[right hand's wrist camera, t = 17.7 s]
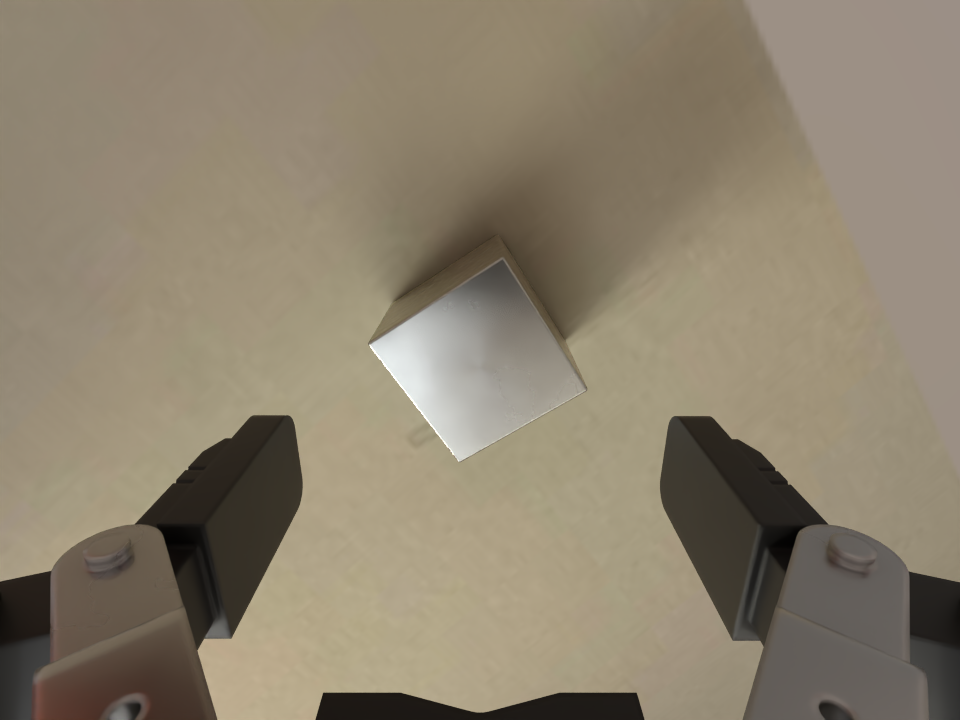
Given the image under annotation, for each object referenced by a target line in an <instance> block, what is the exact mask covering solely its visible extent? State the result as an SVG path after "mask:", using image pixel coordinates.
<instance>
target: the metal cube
mask: <svg viewBox="0 0 960 720" xmlns="http://www.w3.org/2000/svg"><path fill="white" fill-rule="evenodd" d="M368 345H369V346H370V348H371V349H372V350H373V352H374V353H375V354H376V356H377V357H378V358H379V359H380V361H381V362H382V363H383V365H384V366H385V367H386V368H387V370H388V371H389V372H390V374H391V375H392V376H393V378H394V379H395V380H396V381H397V383H398V384H399V385H400V387H401V388H402V389H403V390H404V392H405V393H406V394H407V396H408V397H409V398H410V400H411V401H412V402H413V403H414V405H415V406H416V407H417V409H418V410H419V411H420V412H421V414H422V415H423V416H424V418H425V419H426V420H427V422H428V423H429V424H430V425H431V427H432V428H433V429H434V431H435V432H436V433H437V434H438V436H439V437H440V438H441V440H442V441H443V442H444V444H445V445H446V446H447V447H448V449H449V450H450V451H451V453H452V454H453V455H454V456H455V458H456V459H457V460H458V462H461V461H463V460H465V459H467V458H468V457H470V456H472V455H474V454H476V453H477V452H479V451H481V450H483V449H484V448H486V447H488V446H490V445H492V444H493V443H495V442H497V441H499V440H500V439H502V438H504V437H506V436H507V435H509V434H511V433H513V432H515V431H516V430H518V429H520V428H522V427H523V426H525V425H527V424H529V423H531V422H532V421H534V420H536V419H538V418H539V417H541V416H543V415H545V414H546V413H548V412H550V411H552V410H554V409H555V408H557V407H559V406H561V405H562V404H564V403H566V402H568V401H570V400H571V399H573V398H575V397H577V396H578V395H580V394H582V393H584V392H585V391H587V387H586V385H585V382H584V380H583V378H582V376H581V374H580V372H579V369H578V367H577V365H576V363H575V361H574V359H573V356H572V354H571V352H570V350H569V348H568V346H567V343H566V341H565V340H564V338H563V336H562V335H561V333H560V332H559V330H558V328H557V327H556V325H555V324H554V322H553V320H552V319H551V317H550V316H549V314H548V312H547V311H546V309H545V308H544V306H543V304H542V303H541V301H540V300H539V298H538V296H537V295H536V293H535V292H534V290H533V288H532V287H531V285H530V284H529V282H528V280H527V279H526V277H525V276H524V274H523V272H522V271H521V269H520V268H519V266H518V264H517V263H516V261H515V260H514V258H513V256H512V255H511V253H510V252H509V250H508V248H507V247H506V245H505V244H504V242H503V240H502V239H501V237H500V236H499V235H495V236H494V237H492V238H491V239H489V240H488V241H486V242H485V243H483V244H482V245H480V246H478V247H477V248H475V249H474V250H472V251H471V252H469V253H468V254H466V255H465V256H463V257H462V258H460V259H459V260H457V261H456V262H454V263H453V264H451V265H450V266H448V267H446V268H445V269H443V270H442V271H440V272H439V273H437V274H436V275H434V276H433V277H431V278H430V279H428V280H427V281H425V282H424V283H422V284H421V285H419V286H418V287H416V288H414V289H413V290H411V291H410V292H408V293H407V294H405V295H404V296H402V297H401V298H399V299H398V300H396V301H395V302H393V303H392V304H391V306H390V307H389V309H388V311H387V312H386V314H385V316H384V318H383V319H382V321H381V323H380V324H379V326H378V328H377V329H376V331H375V333H374V334H373V336H372V338H371V339H370V341H369V343H368Z"/></svg>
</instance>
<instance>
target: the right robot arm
mask: <svg viewBox="0 0 960 720" xmlns="http://www.w3.org/2000/svg"><path fill="white" fill-rule="evenodd" d="M188 468H189V469H188V470H185V471H184V472H183V473H182V475H181V476H180V477H179V478H178V479H177V480H176V483H173V484H172V485H171V486H170V487H169V488H168V489H167V491H166V492H165V493H164V494H163V495H162V496H161V497H160V498H159V499H158V500H157V501H156V502H155V503H154V504H153V505H152V507H151V508H150V509H149V510H148V511H147V512H146V513H145V514H144V515H143V516H142V517H141V518H140V519H139V520H138V521H137V523H136V524H135V525H125V526H120V527H116V528H112V529H109V530H106V531H103V532H100V533H98V534H95V535H93V536H91V537H89V538H87V539H85V540H83V541H81V542H80V543H78V544H77V545H75V546H74V547H72V548H71V549H70V550H68V551H67V552H66V553H65V554H64V555H63V556H62V557H61V558H60V559H59V560H58V561H57V562H56V564H55V565H54V567H53V569H52V571H49V572H44V573H39V574H34V575H30V576H25V577H20V578H15V579H11V580H6V581H1V582H0V720H217V717H216V713H215V710H214V707H213V703H212V700H211V696H210V693H209V689H208V686H207V683H206V679H205V676H204V672H203V669H202V665H201V662H200V659H199V655H198V652H197V650H198V648H199V647H200V645H201V643H202V641H203V640H204V639H231V638H232V636H233V634H234V632H235V630H236V628H237V626H238V624H239V623H240V621H241V619H242V617H243V615H244V613H245V611H246V609H247V607H248V605H249V603H250V601H251V599H252V597H253V595H254V593H255V591H256V590H257V588H258V586H259V584H260V582H261V580H262V578H263V576H264V574H265V572H266V570H267V568H268V566H269V564H270V562H271V560H272V559H273V557H274V555H275V553H276V551H277V549H278V547H279V545H280V543H281V541H282V539H283V537H284V535H285V533H286V531H287V529H288V527H289V526H290V524H291V522H292V520H293V518H294V516H295V514H296V512H297V510H298V508H299V505H300V502H301V497H302V488H303V482H302V473H301V466H300V459H299V452H298V445H297V439H296V432H295V426H294V422H293V419H292V418H291V417H290V416H288V415H254V416H251V417H250V418H249V419H248V420H247V421H246V422H245V424H244V425H243V426H242V427H241V428H240V429H239V430H238V432H237V433H236V434H235V435H234V436H233V437H232V438H225V439H224V440H222V441H220V442H218V443H217V444H215V445H213V446H212V447H210V448H208V449H207V450H205V451H203V452H202V453H201V454H200V455H199V456H198V457H197V459H196V460H195V461H194V462H193V463H192V464H191V465H190V466H189V467H188ZM660 493H661V499H662V504H663V507H664V509H665V511H666V513H667V515H668V517H669V519H670V521H671V523H672V525H673V527H674V529H675V531H676V533H677V534H678V536H679V538H680V540H681V542H682V544H683V546H684V548H685V550H686V552H687V554H688V556H689V557H690V559H691V561H692V563H693V565H694V567H695V569H696V571H697V573H698V575H699V577H700V579H701V580H702V582H703V584H704V586H705V588H706V590H707V592H708V594H709V596H710V598H711V600H712V602H713V603H714V605H715V607H716V609H717V611H718V613H719V615H720V617H721V619H722V621H723V623H724V625H725V626H726V628H727V630H728V632H729V634H730V636H731V638H732V640H733V641H761V643H762V644H763V646H764V648H763V652H762V655H761V659H760V662H759V665H758V669H757V672H756V676H755V679H754V683H753V686H752V689H751V693H750V696H749V700H748V703H747V707H746V710H745V713H744V717H743V720H960V582H955V581H950V580H946V579H941V578H936V577H931V576H927V575H922V574H917V573H912V572H909V571H908V569H907V567H906V565H905V564H904V562H903V561H902V560H901V559H900V558H899V557H898V556H897V555H896V554H895V553H894V552H893V551H892V550H890V549H889V548H888V547H886V546H885V545H883V544H882V543H880V542H879V541H877V540H875V539H873V538H871V537H869V536H867V535H865V534H862V533H860V532H857V531H854V530H851V529H848V528H844V527H840V526H835V525H828V523H827V522H826V521H825V520H824V519H823V518H822V517H821V516H820V515H819V514H818V513H817V512H816V511H815V510H814V509H813V508H812V507H811V505H810V504H809V503H808V502H807V501H806V500H805V499H804V498H803V497H802V496H801V495H800V494H799V493H798V492H797V491H796V490H795V489H794V488H793V486H792V485H788V481H787V480H786V479H785V478H784V477H783V476H782V475H781V474H780V473H779V472H778V471H775V467H774V466H773V465H772V464H771V463H770V462H769V461H768V460H767V459H766V458H765V457H764V456H763V455H762V454H761V453H760V452H759V451H757V450H755V449H753V448H752V447H750V446H748V445H747V444H745V443H743V442H742V441H740V440H738V439H731V438H730V437H729V435H728V434H727V433H726V432H725V431H724V430H723V429H722V428H721V426H720V425H719V424H718V423H717V422H716V421H715V420H714V419H713V418H712V417H710V416H674V417H672V419H671V420H670V422H669V426H668V431H667V438H666V445H665V452H664V458H663V465H662V472H661V479H660ZM316 720H644V716H643V713H642V710H641V706H640V703H639V699H638V696H637V693H557V694H553V695H549V696H546V697H542V698H538V699H534V700H531V701H527V702H523V703H519V704H516V705H512V706H508V707H504V708H501V709H497V710H493V711H489V712H484V713H476V712H471V711H467V710H463V709H459V708H456V707H452V706H448V705H444V704H441V703H437V702H433V701H429V700H426V699H422V698H418V697H414V696H411V695H407V694H403V693H323V696H322V699H321V703H320V706H319V710H318V713H317V716H316Z"/></svg>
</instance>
